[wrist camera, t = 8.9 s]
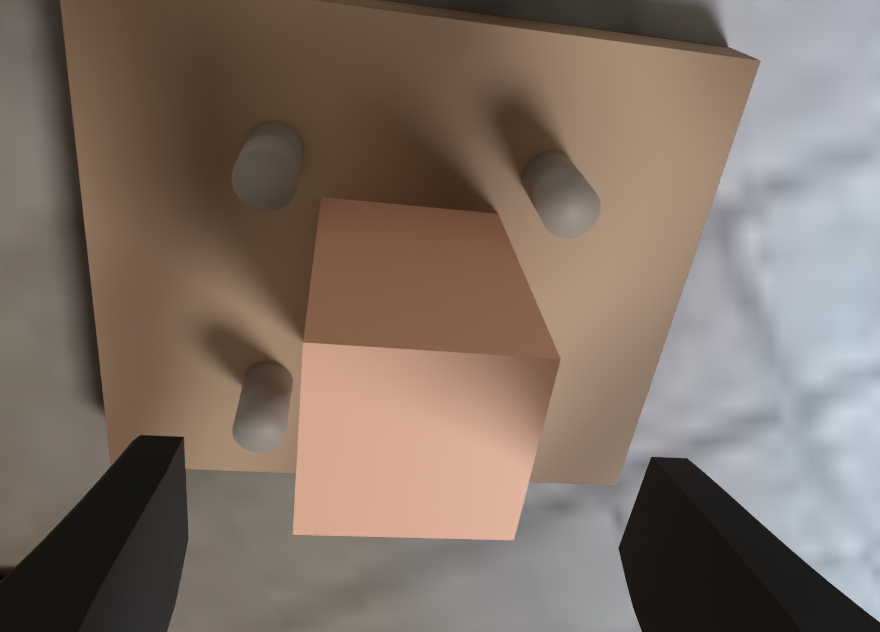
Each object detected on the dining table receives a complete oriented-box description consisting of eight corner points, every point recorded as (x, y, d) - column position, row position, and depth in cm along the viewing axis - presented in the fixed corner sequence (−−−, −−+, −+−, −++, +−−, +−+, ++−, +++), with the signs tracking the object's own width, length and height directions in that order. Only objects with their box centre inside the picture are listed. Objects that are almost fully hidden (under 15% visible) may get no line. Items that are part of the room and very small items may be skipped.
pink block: (311, 350, 18) (292, 534, 13) (320, 196, 16) (302, 342, 11) (471, 359, 19) (513, 540, 13) (498, 213, 17) (560, 359, 12)
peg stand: (126, 430, 20) (86, 522, 18) (82, -41, 15) (11, -23, 12) (601, 451, 23) (639, 537, 20) (729, 47, 17) (810, 82, 14)
